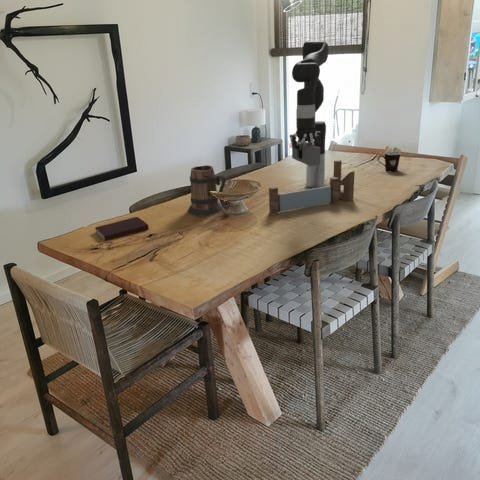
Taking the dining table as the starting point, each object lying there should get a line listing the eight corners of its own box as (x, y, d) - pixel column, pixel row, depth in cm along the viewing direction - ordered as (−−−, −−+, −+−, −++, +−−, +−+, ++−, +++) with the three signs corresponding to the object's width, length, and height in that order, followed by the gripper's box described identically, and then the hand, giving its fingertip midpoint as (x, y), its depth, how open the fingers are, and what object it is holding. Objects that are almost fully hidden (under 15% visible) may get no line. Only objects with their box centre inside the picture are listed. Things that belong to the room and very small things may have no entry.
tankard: (180, 212, 221) (175, 170, 213) (201, 202, 234) (198, 162, 226) (221, 219, 209) (218, 175, 201) (241, 208, 222) (239, 166, 214)
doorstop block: (292, 158, 204) (292, 141, 201) (301, 156, 205) (301, 140, 202) (310, 166, 190) (310, 148, 187) (320, 164, 191) (320, 147, 188)
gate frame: (269, 213, 214) (268, 187, 209) (335, 201, 225) (335, 176, 220) (272, 215, 211) (271, 189, 207) (338, 203, 222) (339, 178, 217)
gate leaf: (275, 210, 215) (275, 193, 212) (328, 201, 224) (328, 185, 221) (278, 212, 213) (277, 195, 210) (331, 202, 221) (331, 186, 218)
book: (149, 230, 202) (148, 223, 201) (105, 242, 192) (103, 234, 191) (137, 223, 212) (136, 216, 211) (95, 233, 202) (94, 226, 201)
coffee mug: (401, 169, 273) (402, 152, 269) (396, 173, 266) (398, 155, 262) (380, 167, 279) (382, 150, 275) (376, 171, 272) (377, 153, 268)
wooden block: (348, 201, 224) (350, 164, 217) (330, 197, 231) (331, 160, 224) (353, 199, 226) (355, 162, 219) (335, 195, 234) (336, 159, 227)
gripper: (316, 113, 196) (316, 154, 202) (285, 116, 191) (286, 158, 198) (326, 115, 189) (325, 157, 196) (294, 118, 185) (294, 162, 191)
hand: (305, 157), depth 197 cm, fingers closed on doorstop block, 4 cm apart
